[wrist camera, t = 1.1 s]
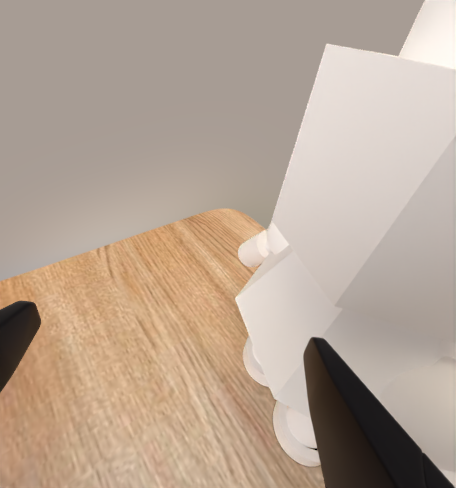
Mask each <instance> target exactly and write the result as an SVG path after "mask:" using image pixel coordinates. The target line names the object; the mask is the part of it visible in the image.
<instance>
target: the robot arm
mask: <svg viewBox="0 0 456 488" xmlns="http://www.w3.org/2000/svg"><path fill="white" fill-rule="evenodd" d="M40 324H41V319H40V316H39V313H38V310H37V307H36V304H35V303H34V302H28V301H18V302H15V303H13V304H11V305H9V306H7V307H5V308H3V309H1V310H0V392H1V391H2V389H3V388H4V387H5V385H6V384H7V382H8V381H9V379H10V378H11V376H12V375H13V373H14V371H15V370H16V368H17V366H18V365H19V363H20V361H21V359H22V357H23V356H24V354H25V352H26V350H27V349H28V347H29V345H30V343H31V341H32V340H33V338H34V336H35V334H36V333H37V331H38V329H39V327H40ZM303 361H304V370H305V379H306V388H307V398H308V405H309V411H310V416H311V421H312V426H313V430H314V435H315V440H316V444H317V449H318V454H319V459H320V463H321V468H322V473H323V477H324V482H325V487H326V488H455V487H454V485H453V484H452V483H451V482H450V481H449V480H448V479H447V478H446V477H445V475H444V474H443V473H442V472H441V471H440V470H439V469H438V468H437V466H436V465H435V464H434V463H433V462H432V461H431V460H430V458H429V457H428V456H427V455H426V454H425V453H423V452H422V450H421V448H420V447H419V446H418V445H417V444H416V443H415V441H414V440H413V439H412V438H411V437H410V436H409V435H408V433H407V432H406V431H405V430H404V429H403V428H402V427H401V425H400V424H399V423H398V422H397V421H396V420H395V419H394V417H393V416H392V415H391V414H390V413H389V412H388V411H387V409H386V408H385V407H384V406H383V405H382V404H381V403H380V401H379V400H378V399H377V398H376V397H375V396H374V395H373V393H372V392H371V391H370V390H369V389H368V388H367V387H366V385H365V384H364V383H363V382H362V381H361V380H360V378H359V377H358V376H357V375H356V374H355V373H354V372H353V370H352V369H351V368H350V367H349V366H348V365H347V364H346V362H345V361H344V360H343V359H342V358H341V357H340V356H339V354H338V353H337V352H336V351H335V350H334V349H333V348H332V346H331V345H330V344H329V343H328V342H327V341H326V340H325V339H324V338H320V337H311V338H310V340H309V342H308V344H307V346H306V348H305V351H304V354H303Z"/></svg>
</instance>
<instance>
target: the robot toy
mask: <svg viewBox="0 0 456 488" xmlns="http://www.w3.org/2000/svg"><path fill="white" fill-rule="evenodd" d="M238 256H239V259H240V261H241V262H242V263H243V264H244V265H246V266H248V267H255V266H258V265H260V266H259V268H258V269H257V270H256V272H255V273H254V274H253V276H252V277H251V278H250V280H249V281H248V282H247V283H246V285H245V286H244V287H243V289H242V290H241V291H240V293H239V294H238V295H237V297H236V298H235V300H236V303H237V305H238V308H239V310H240V313H241V315H242V318H243V321H244V323H245V326H246V328H247V331H248V333H249V336H248V338H247V341H246V343H245V346H244V350H243V362H244V366H245V368H246V370H247V372H248V373H249V375H250V376H251V377H252V378H253V379H254V380H255V381H256V382H258V383H259V384H261V385H263V386H266V387H270V390H271V392H272V395H273V398H274V399H276V400H277V402H276V404H275V407H274V410H273V427H274V431H275V434H276V437H277V440H278V442H279V443H280V445H281V447H282V449H283V450H284V451H285V452H286V453H287V454H288V456H289V457H290V458H292V459H293V460H295V461H296V462H297V463H299V464H302V465H305V466H308V467H317V466H319V465H321V463H320V459H319V454H318V450H313V449H310V448H317V444H316V440H315V435H314V430H313V426H312V421H311V416H310V411H309V405H308V398H307V388H306V379H305V370H304V361H303V354H304V351H305V348H306V346H307V344H308V342H309V340H310V338H311V337H320V338H324V339H325V340H326V341H327V342H328V343H329V344H330V345H331V346H332V348H333V349H334V350H335V351H336V352H337V353H338V354H339V356H340V357H341V358H342V359H343V360H344V361H345V362H346V364H347V365H348V366H349V367H350V368H351V369H352V370H353V372H354V373H355V374H356V375H357V376H358V377H359V378H360V380H361V381H362V382H363V383H364V384H365V385H366V387H367V388H368V389H369V390H370V391H371V392H372V393H373V395H374V396H375V397H376V398H377V399H378V400H379V401H380V403H381V404H382V405H383V406H384V407H385V408H386V409H387V411H388V412H389V413H390V414H391V415H392V416H393V417H394V419H395V420H396V421H397V422H398V423H399V424H400V425H401V427H402V428H403V429H404V430H405V431H406V432H407V433H408V435H409V436H410V437H411V438H412V439H413V440H414V441H415V443H416V444H417V445H418V446H419V447H420V448H421V450H422V452H423V453H425V454H426V455H427V456H428V457H429V458H430V460H431V461H432V462H433V463H434V464H435V465H436V466H437V468H438V469H439V470H440V471H441V472H442V473H443V474H444V475H445V477H446V478H447V479H448V480H449V481H450V482H451V483H452V484H453V485H454V487H455V488H456V0H425V1H424V3H423V5H422V7H421V9H420V11H419V14H418V16H417V18H416V20H415V22H414V24H413V26H412V28H411V30H410V33H409V35H408V37H407V39H406V41H405V43H404V45H403V47H402V49H401V52H400V54H399V56H394V55H388V54H383V53H378V52H371V51H365V50H359V49H354V48H348V47H343V46H336V45H331V44H326V47H325V51H324V54H323V57H322V60H321V63H320V67H319V70H318V73H317V76H316V79H315V83H314V86H313V89H312V92H311V95H310V99H309V102H308V105H307V108H306V111H305V114H304V118H303V121H302V124H301V127H300V130H299V134H298V137H297V141H296V143H295V147H294V150H293V153H292V156H291V160H290V163H289V166H288V169H287V172H286V175H285V179H284V182H283V185H282V188H281V192H280V195H279V198H278V201H277V204H276V208H275V211H274V214H273V217H272V222H271V223H270V225H269V227H268V230H264V231H262V232H260V233H258V234H257V235H255V236H253V237H252V238H250V239H248V240H247V241H245V242H243V243H242V244H241V245H240V247H239V250H238ZM287 406H288V408H287ZM308 447H309V448H308Z"/></svg>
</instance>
